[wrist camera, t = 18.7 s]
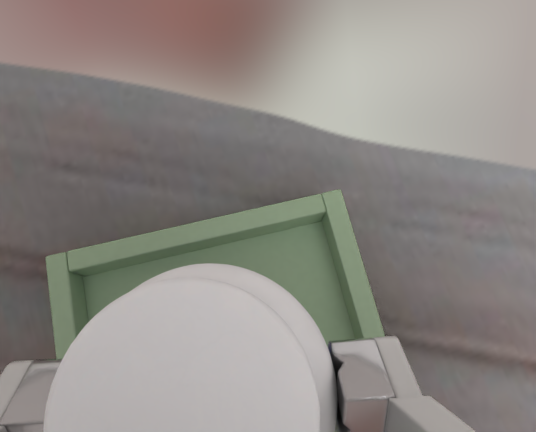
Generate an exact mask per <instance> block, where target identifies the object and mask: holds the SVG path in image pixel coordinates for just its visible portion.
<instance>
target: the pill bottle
mask: <svg viewBox="0 0 536 432" xmlns="http://www.w3.org/2000/svg"><path fill="white" fill-rule="evenodd" d="M337 407H338V400H337V384H336V377H335V371H334V367H333V363H332V359H331V355H330V352H329V350H328V347H327V345H326V342H325V340H324V338H323V336H322V334H321V332H320V330H319V328H318V326H317V325H316V323H315V321H314V320H313V318H312V317H311V316H310V314H309V313H308V312H307V311H306V309H305V308H304V307H303V306H302V305H301V304H300V303H299V302H298V301H297V300H296V299H295V298H294V297H293V296H292V295H291V294H290V293H289V292H288V291H287V290H285V289H284V288H283V287H281V286H280V285H278V284H277V283H275V282H274V281H272V280H270V279H269V278H267V277H265V276H263V275H261V274H258V273H256V272H254V271H251V270H248V269H245V268H242V267H238V266H233V265H227V264H214V263H204V264H193V265H187V266H183V267H179V268H175V269H172V270H169V271H166V272H164V273H161V274H159V275H157V276H155V277H153V278H151V279H149V280H147V281H145V282H143V283H142V284H140V285H139V286H137V287H136V288H134V289H133V290H131V291H130V292H128V293H126V294H124V295H123V296H121V297H119V298H118V299H116V300H115V301H113V302H111V303H110V304H109V305H107V306H106V307H105V308H104V309H102V310H101V311H100V312H99V313H98V314H96V315H95V316H94V317H93V318H92V319H91V320H90V321H89V322H88V323H87V324H86V325H85V326H84V328H83V329H82V330H81V332H80V333H79V334H78V336H77V337H76V338H75V340H74V341H73V342H72V344H71V345H70V347H69V348H68V350H67V352H66V354H65V355H64V357H63V359H62V361H61V363H60V365H59V367H58V369H57V372H56V374H55V377H54V379H53V382H52V384H51V388H50V392H49V396H48V400H47V403H46V410H45V418H44V429H43V432H335V426H336V419H337Z"/></svg>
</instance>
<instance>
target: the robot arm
mask: <svg viewBox="0 0 536 432" xmlns="http://www.w3.org/2000/svg"><path fill="white" fill-rule="evenodd" d="M328 350H329V352H330V355H331V359H332V363H333V367H334V371H335V377H336V384H337V400H338V407H337V419H336V426H335V432H476V431H475V430H474V429H472V428H471V427H470V426H469V425H467V424H466V423H465V422H463V421H462V420H461V419H460V418H458V417H457V416H456V415H454V414H453V413H452V412H451V411H449V410H448V409H447V408H445V407H444V406H443V405H442V404H440V403H439V402H438V401H436V400H435V399H434V398H433V397H431V396H423V394H422V392H421V390H420V387H419V385H418V383H417V381H416V378H415V376H414V374H413V371H412V369H411V367H410V364H409V362H408V360H407V357H406V355H405V353H404V350H403V348H402V346H401V343H400V341H399V339H398V338H397V337H396V336H386V337H373V338H360V339H347V340H334V341H329V342H328ZM61 361H62V359H43V360H29V361H12V362H11V363H10V364H8V365H7V366H6V367H5V369H4V370H3V372H2V374H1V375H0V432H43V429H44V418H45V410H46V403H47V400H48V396H49V392H50V388H51V384H52V382H53V379H54V377H55V374H56V372H57V369H58V367H59V365H60V363H61Z"/></svg>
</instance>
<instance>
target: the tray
mask: <svg viewBox="0 0 536 432" xmlns="http://www.w3.org/2000/svg"><path fill="white" fill-rule="evenodd" d="M45 259H46V268H47V277H48V286H49V296H50V305H51V314H52V323H53V332H54V341H55V351H56V359H63V357H64V355H65V354H66V352H67V350H68V348H69V347H70V345H71V344H72V342H73V341H74V340H75V338H76V337H77V336H78V334H79V333H80V332H81V330H82V329H83V328H84V326H85V325H86V324H87V323H88V322H89V321H90V320H91V319H92V318H93V317H94V316H95V315H96V314H98V313H99V312H100V311H101V310H102V309H104V308H105V307H106V306H107V305H109V304H110V303H111V302H113V301H115V300H116V299H118V298H119V297H121V296H123V295H124V294H126V293H128V292H130V291H131V290H133V289H134V288H136V287H137V286H139V285H140V284H142V283H143V282H145V281H147V280H149V279H151V278H153V277H155V276H157V275H159V274H161V273H164V272H166V271H169V270H172V269H175V268H179V267H183V266H187V265H193V264H204V263H214V264H227V265H233V266H238V267H242V268H245V269H248V270H251V271H254V272H256V273H258V274H261V275H263V276H265V277H267V278H269V279H270V280H272V281H274V282H275V283H277V284H278V285H280V286H281V287H283V288H284V289H285V290H287V291H288V292H289V293H290V294H291V295H292V296H293V297H294V298H295V299H296V300H297V301H298V302H299V303H300V304H301V305H302V306H303V307H304V308H305V309H306V311H307V312H308V313H309V314H310V316H311V317H312V318H313V320H314V321H315V323H316V325H317V326H318V328H319V330H320V332H321V334H322V336H323V338H324V340H325V342H326V345H327V347H328V342H329V341H334V340H347V339H360V338H373V337H385V334H384V331H383V327H382V324H381V321H380V317H379V314H378V311H377V308H376V304H375V301H374V298H373V294H372V291H371V288H370V284H369V281H368V278H367V274H366V271H365V268H364V264H363V261H362V258H361V255H360V251H359V248H358V245H357V241H356V238H355V235H354V231H353V228H352V225H351V221H350V218H349V215H348V211H347V208H346V205H345V202H344V198H343V195H342V192H341V189H338V190H333V191H329V192H324V193H322V194H316V195H312V196H308V197H303V198H299V199H294V200H290V201H286V202H281V203H277V204H272V205H268V206H264V207H259V208H255V209H250V210H246V211H242V212H237V213H233V214H229V215H224V216H220V217H215V218H211V219H207V220H202V221H198V222H193V223H189V224H185V225H180V226H176V227H172V228H167V229H163V230H158V231H154V232H150V233H145V234H141V235H136V236H132V237H128V238H123V239H119V240H114V241H110V242H106V243H101V244H97V245H93V246H88V247H84V248H79V249H75V250H71V251H68V252H67V253H66V252H62V253H58V254H54V255H49V256H47V257H46V258H45Z"/></svg>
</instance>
